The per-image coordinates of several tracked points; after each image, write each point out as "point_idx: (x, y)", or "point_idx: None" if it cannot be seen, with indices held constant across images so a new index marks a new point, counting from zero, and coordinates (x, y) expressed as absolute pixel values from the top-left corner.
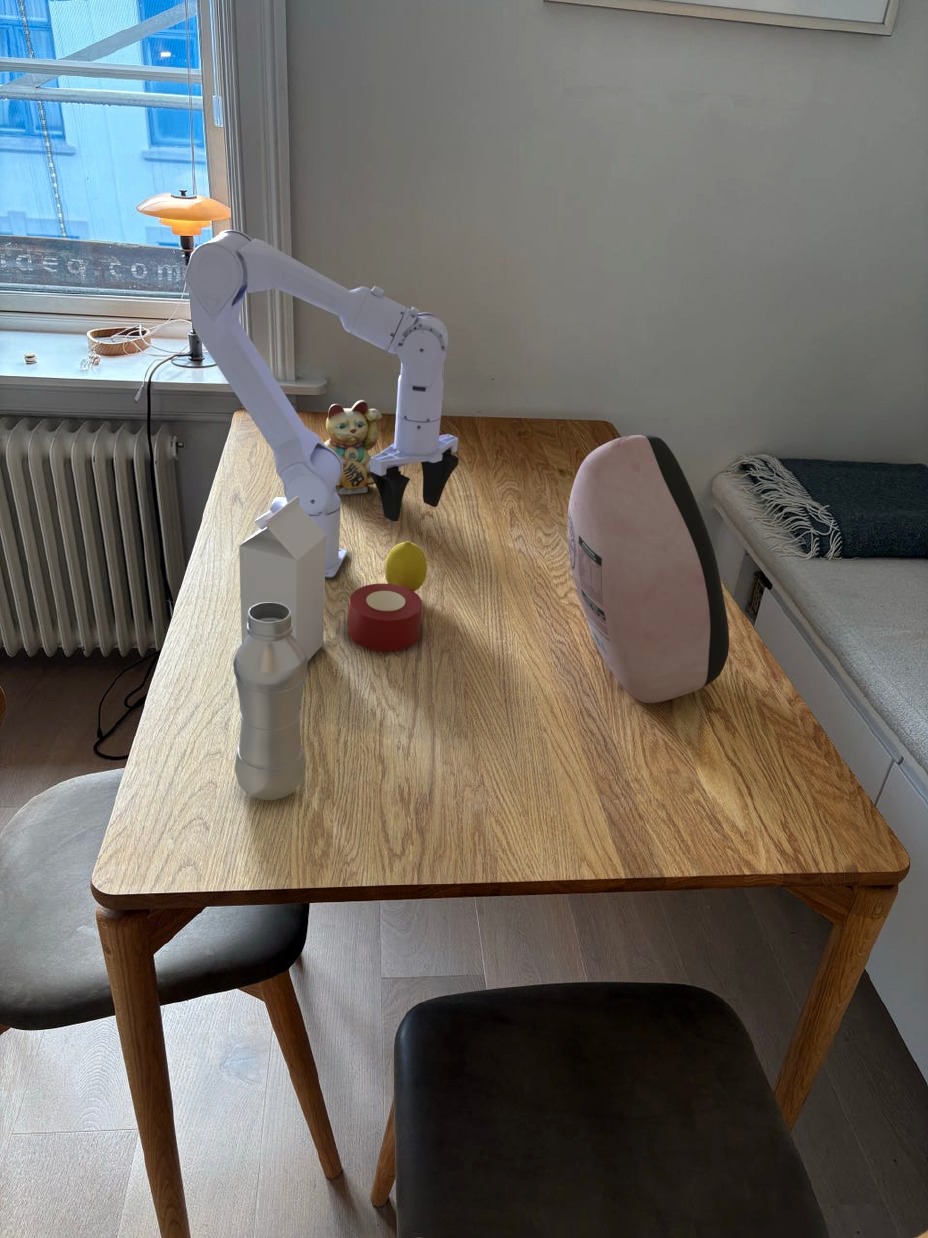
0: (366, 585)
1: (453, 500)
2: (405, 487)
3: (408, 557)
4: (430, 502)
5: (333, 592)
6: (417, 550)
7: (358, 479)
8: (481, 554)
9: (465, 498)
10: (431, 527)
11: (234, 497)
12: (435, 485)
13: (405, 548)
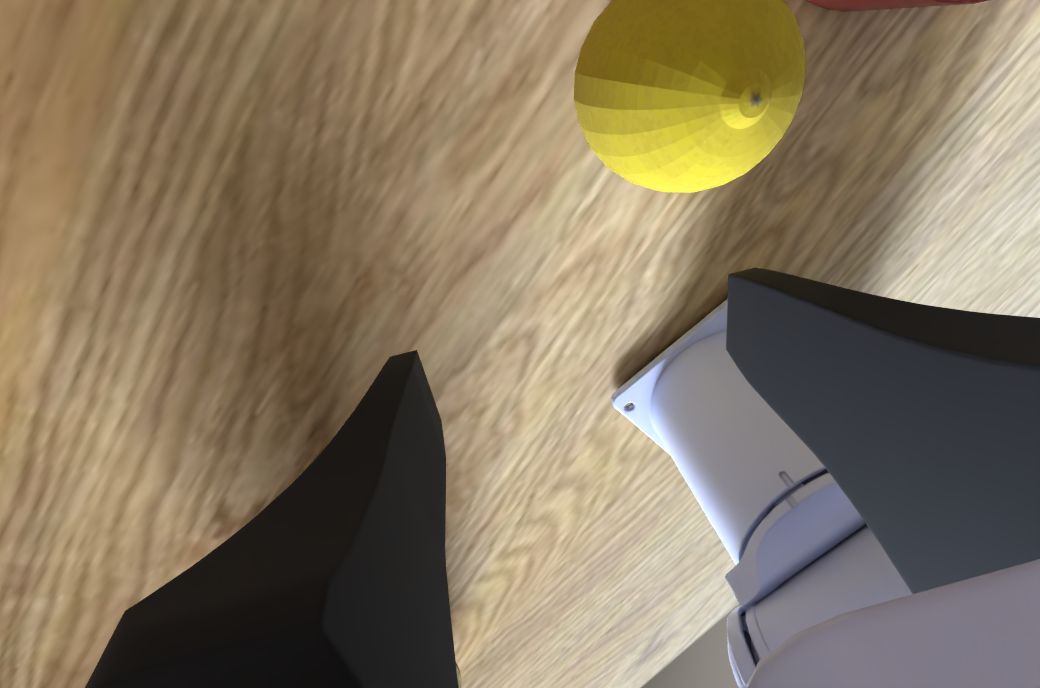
0: (957, 2)
1: (90, 576)
2: (969, 351)
3: (781, 12)
4: (426, 389)
5: (796, 212)
6: (719, 29)
7: None
8: (136, 224)
9: (34, 579)
10: (257, 455)
11: (650, 655)
12: (409, 461)
13: (780, 68)
